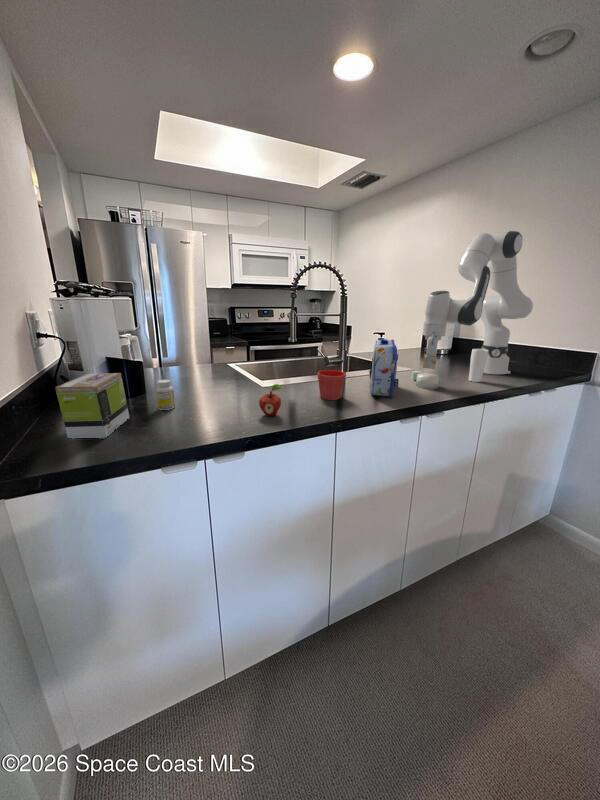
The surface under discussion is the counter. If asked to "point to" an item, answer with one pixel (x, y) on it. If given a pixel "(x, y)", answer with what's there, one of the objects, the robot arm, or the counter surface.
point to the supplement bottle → (165, 395)
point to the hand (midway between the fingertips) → (429, 363)
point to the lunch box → (384, 368)
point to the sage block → (414, 374)
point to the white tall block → (477, 364)
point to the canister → (427, 380)
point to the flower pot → (331, 384)
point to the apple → (270, 402)
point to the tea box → (93, 405)
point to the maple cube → (429, 365)
